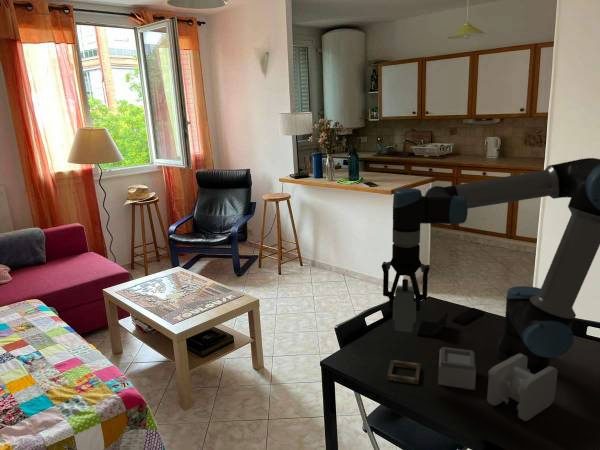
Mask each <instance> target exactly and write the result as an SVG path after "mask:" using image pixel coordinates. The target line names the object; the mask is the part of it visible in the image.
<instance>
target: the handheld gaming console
mask: <svg viewBox="0 0 600 450" xmlns="http://www.w3.org/2000/svg"><path fill="white" fill-rule="evenodd" d="M448 316H449V314H448V313H447V312H446V313H445V314H444V315H443V316H442V317H441V318H440V319H439V320H438V321H436V322H435V321H434V322H433V321H427V320H426V321H425V320H421V322H420V325H419V328H418V331H417V335H416V336H417V337H423V338H430V339H435V338H436V336H437V335H438V334H439V333H440V332H441V331H442V330H443V329H444V328H445V326H446V323H447V318H448Z"/></svg>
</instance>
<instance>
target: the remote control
mask: <svg viewBox="0 0 600 450" xmlns="http://www.w3.org/2000/svg"><path fill="white" fill-rule="evenodd" d="M483 314H484V310H481V309H479V308H475V307H471V308H469V309H467V310H466V311H463V312H462V313H460V314H458V315H456V316H455V317H453V318H452V323H454V324H458V325H460V326H466V325H467V324H468V323H470V322H472V321H474V320H475V319H477V318H478V317H480V316H482V315H483Z"/></svg>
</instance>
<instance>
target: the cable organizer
mask: <svg viewBox="0 0 600 450" xmlns="http://www.w3.org/2000/svg"><path fill="white" fill-rule="evenodd" d="M527 361H528V358H527V356H525V355H523V354H517V355H515V356H513V357H511V358H509V359H507V360H505V361H502V362H499V363H498V364H496V365H494V366H492V367H491V368H490V369H489V370H488V383H487V395H486V397H487V399H486V401H487V402H488V403H489V404H490V405H492V406H495V407H496V406H497V405H499V404H501V403H504V402H505V405H507V406H508V403H509V402H510V399H512V400H514V401H515V402H517V403H518V404H517V405H516V411H517V410H518V412H517V413H518V414H517V417H518V418H519V419H521V420H522V421H524V422H527V421H529V420H531V419H532V418H534V417H535V416H536V415H538V414H540V413H541V412H543V411H545V409H547V408H548V407H550V406H551V405H552V404H553V403H554V400H555V396H556V388H557V380H558V379H557V378H558V369H557V368H555V367H553V366H552V365H548V366H547V367H545V368H542V369H541V370H540V371H538V372H537V373H535V374H533V373H531V370H530V368H529V369H527Z"/></svg>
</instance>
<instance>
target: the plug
mask: <svg viewBox="0 0 600 450" xmlns="http://www.w3.org/2000/svg"><path fill="white" fill-rule="evenodd" d="M401 281H402V285H397V287H396V291H395V294H394V296H395V320H394V331H396V332H404V333H413V331H414V324H415V322H413V301H414V298H415V294H414V290H413V286H409V279H406V278H402V280H401Z"/></svg>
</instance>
